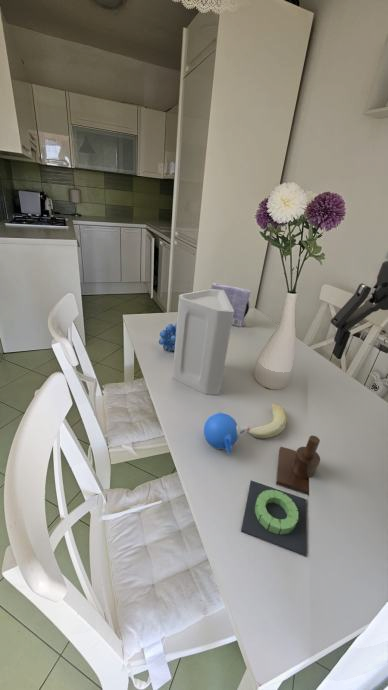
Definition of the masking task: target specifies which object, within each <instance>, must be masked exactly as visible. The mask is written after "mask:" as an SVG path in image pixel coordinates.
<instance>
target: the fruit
mask: <svg viewBox="0 0 388 690" xmlns="http://www.w3.org/2000/svg"><path fill="white" fill-rule="evenodd" d="M271 413H272V421H271V422H269V423H267V424H264V425H260V426H255V427H253V428H250V430H249V431H246V433H248V434H250V435H251V436H253V438H256V439H269V438H273V437H276V436H278V435H280V433H282V432H283V431H284V430H285V428H286V425H287V421H288V420H287V414H286V412H285V409H284V408H283V407H282V406H281V404H278V403H276V402H273V403H272V404H271Z"/></svg>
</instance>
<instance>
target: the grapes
mask: <svg viewBox="0 0 388 690" xmlns="http://www.w3.org/2000/svg"><path fill="white" fill-rule="evenodd" d="M176 328H177V322H176V323H175V324H172V323H168V324H167V325H166V327H165V329H162V330H161V331H160V332H159V336H160V338H159V339H158V344H159V345H161V346H162V349H163V350H164V351H168V350H170V351H171V352H175V340H176Z"/></svg>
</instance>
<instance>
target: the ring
mask: <svg viewBox="0 0 388 690" xmlns="http://www.w3.org/2000/svg"><path fill="white" fill-rule="evenodd" d="M268 503H276V504H278V505H280V506H281V507H282V508H283V509H284V510H285V512H286V514H287V518H286V519H282V520H279V519H276V518H273V517H272V516H271V515H270V514H269V513H268V512H267V509H266V507H265V506H266V505H267V504H268ZM255 513H256V516H257V519H258V521H259V520H260V521H259V522H260V523H261V524H262V525H263V526H264V527H265V528H266V529H268V528H269V529H268V531H270V532H273V533H276V534H280V535H281V534H288V533H289V532H291V531H292V530H293V529H294V528H295V526H296V524H297V522H298V509H297V507H296V505H295V503H294V502H292V499H290V498H289V497H288V496H287V495H286V494H284V495H283V493H282V492H279V491H277V490H265V492H264V491H263V492H262V493H261V494H260V495H259V496H258V497H257V501H256V505H255Z"/></svg>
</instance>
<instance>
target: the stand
mask: <svg viewBox="0 0 388 690" xmlns="http://www.w3.org/2000/svg"><path fill="white" fill-rule="evenodd" d="M320 443H321V440H320V438H319V437H318V436H316V435H310V436H309V438H308V440H307V442H306V445H305V446H300V447H298V448H297V449H296V450H293V449H291V448H287V447H284V446H280V447H279V452H278V459H277V460H278V462H277V469H276V470H277V471H276V480H275V485H277V486H280V487H283V488H286V489H289V490H292V491H294V492H298V493H300V494H304V495H307V496H310V478H312V477H314V476H315V474H316V472H317V470H318V467H319V465H320V462H321V455H319V453H318V452H317V450H318V447H319V445H320Z"/></svg>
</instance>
